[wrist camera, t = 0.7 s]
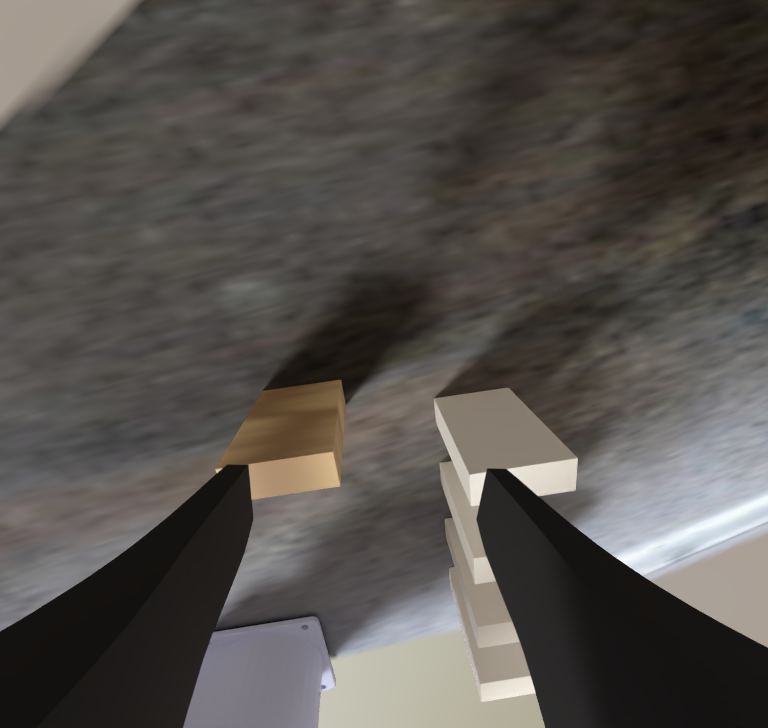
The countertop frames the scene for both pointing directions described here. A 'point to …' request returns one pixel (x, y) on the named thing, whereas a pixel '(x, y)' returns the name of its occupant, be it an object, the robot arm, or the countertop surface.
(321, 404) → the ochre domino
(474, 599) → the domino
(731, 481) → the countertop surface
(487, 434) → the domino
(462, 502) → the domino
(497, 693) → the domino
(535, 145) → the countertop surface
